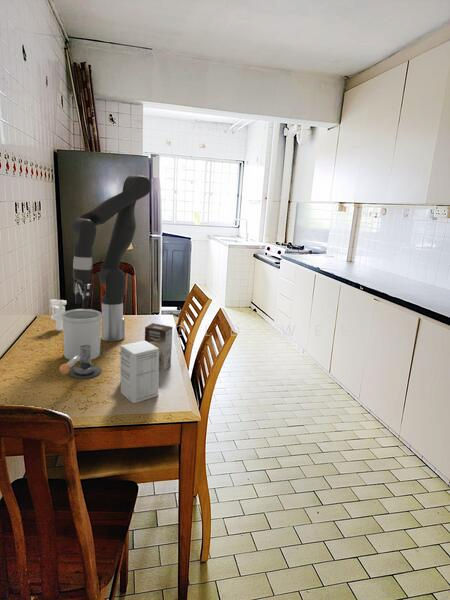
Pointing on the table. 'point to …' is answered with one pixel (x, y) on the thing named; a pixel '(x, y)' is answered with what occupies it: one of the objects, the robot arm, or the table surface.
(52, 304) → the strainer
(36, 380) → the table surface
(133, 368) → the supplement box
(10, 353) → the table surface
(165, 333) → the coffee box
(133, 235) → the robot arm
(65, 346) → the utensil holder
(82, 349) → the metal lever
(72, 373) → the base plate
